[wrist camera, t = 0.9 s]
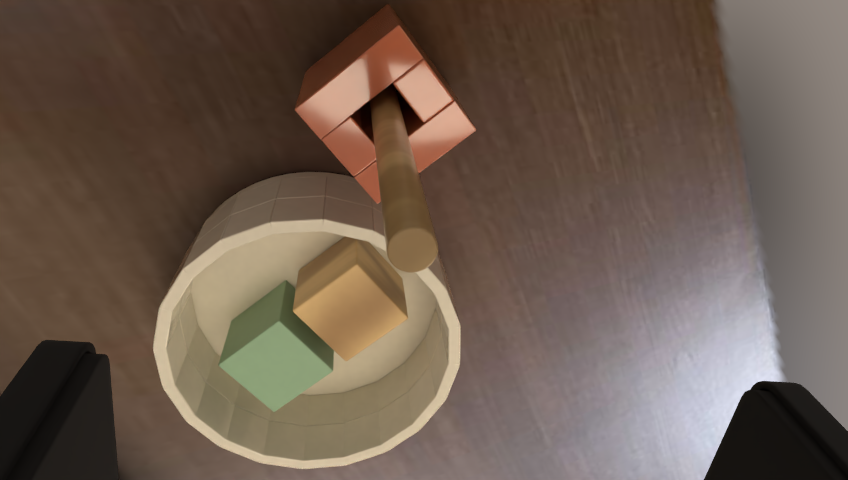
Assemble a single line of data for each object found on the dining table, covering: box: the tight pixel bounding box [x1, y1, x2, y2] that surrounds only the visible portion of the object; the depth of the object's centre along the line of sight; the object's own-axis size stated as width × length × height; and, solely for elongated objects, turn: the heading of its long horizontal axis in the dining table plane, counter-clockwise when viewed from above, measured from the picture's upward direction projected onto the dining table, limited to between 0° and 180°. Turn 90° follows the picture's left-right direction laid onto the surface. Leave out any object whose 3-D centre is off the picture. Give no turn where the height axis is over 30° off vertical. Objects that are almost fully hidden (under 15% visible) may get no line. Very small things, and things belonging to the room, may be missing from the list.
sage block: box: [218, 280, 334, 412], centre depth 34 cm, size 4×4×4 cm
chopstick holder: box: [295, 4, 476, 204], centre depth 28 cm, size 5×5×7 cm
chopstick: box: [370, 83, 438, 273], centre depth 23 cm, size 1×1×18 cm
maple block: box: [293, 236, 408, 361], centre depth 33 cm, size 4×4×4 cm
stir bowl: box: [153, 172, 461, 469], centre depth 33 cm, size 14×14×6 cm
